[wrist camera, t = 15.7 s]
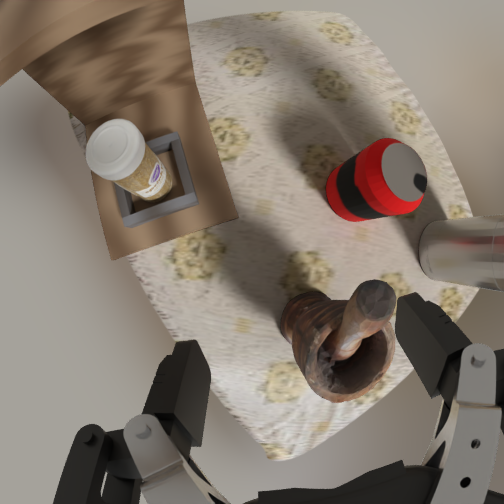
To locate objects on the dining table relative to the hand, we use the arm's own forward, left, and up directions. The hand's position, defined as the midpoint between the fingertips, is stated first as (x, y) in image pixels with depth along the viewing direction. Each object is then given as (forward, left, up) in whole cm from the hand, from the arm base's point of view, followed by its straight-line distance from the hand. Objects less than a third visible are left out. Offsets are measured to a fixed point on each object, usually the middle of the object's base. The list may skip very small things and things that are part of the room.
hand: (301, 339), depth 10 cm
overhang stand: (+7, -17, -22) cm, 29 cm away
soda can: (-16, -6, -22) cm, 28 cm away
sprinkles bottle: (+7, -14, -21) cm, 26 cm away
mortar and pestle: (-5, +6, -22) cm, 24 cm away
